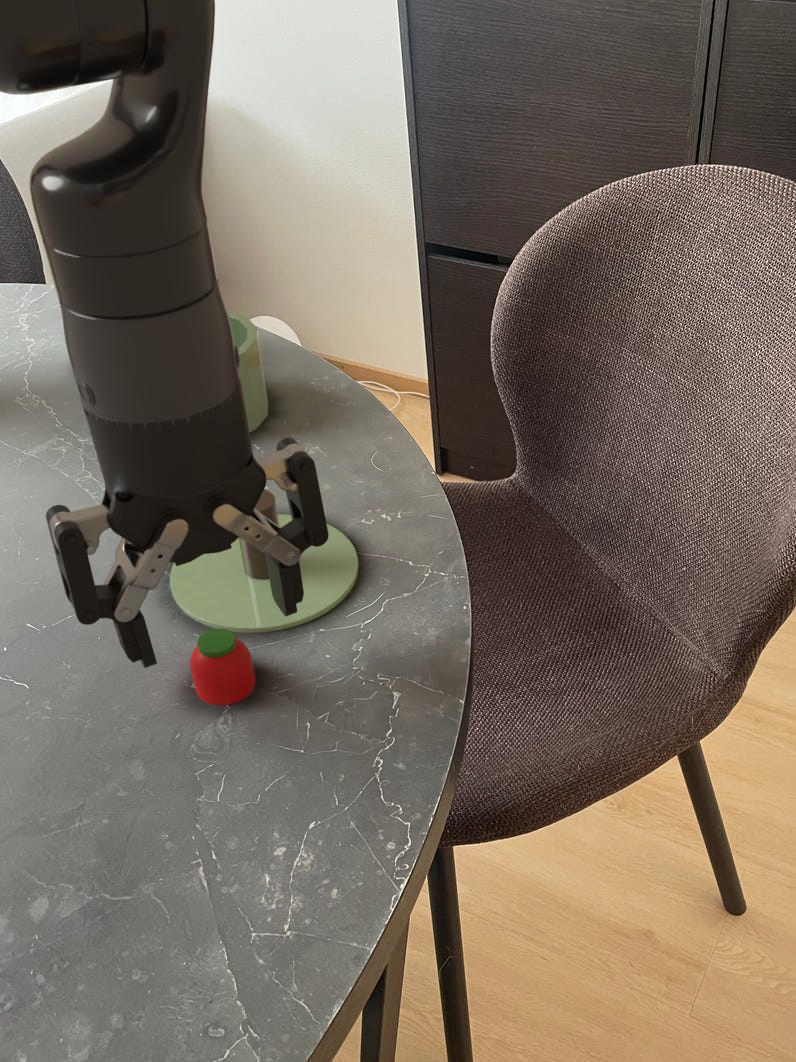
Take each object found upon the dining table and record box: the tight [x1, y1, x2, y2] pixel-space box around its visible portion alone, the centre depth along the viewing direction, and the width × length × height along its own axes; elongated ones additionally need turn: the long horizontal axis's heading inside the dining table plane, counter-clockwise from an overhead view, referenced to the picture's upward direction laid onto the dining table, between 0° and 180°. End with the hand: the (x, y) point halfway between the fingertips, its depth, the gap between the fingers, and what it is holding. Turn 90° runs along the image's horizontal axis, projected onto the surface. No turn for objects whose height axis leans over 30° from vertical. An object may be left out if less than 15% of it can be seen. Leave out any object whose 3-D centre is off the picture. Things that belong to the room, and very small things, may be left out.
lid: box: [169, 489, 359, 634], centre depth 70 cm, size 13×13×7 cm
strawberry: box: [189, 628, 257, 706], centre depth 63 cm, size 4×4×4 cm
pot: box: [227, 309, 269, 433], centre depth 86 cm, size 12×12×8 cm
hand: (217, 632), depth 61 cm, fingers open, 8 cm apart
